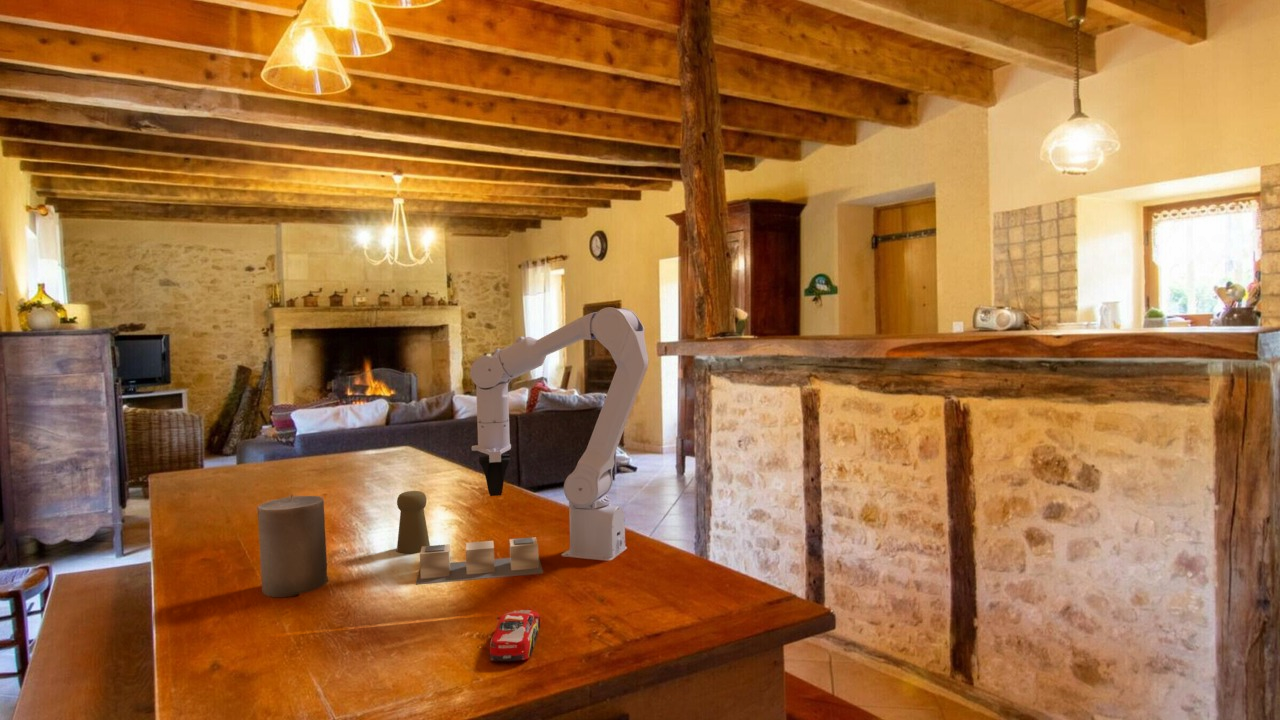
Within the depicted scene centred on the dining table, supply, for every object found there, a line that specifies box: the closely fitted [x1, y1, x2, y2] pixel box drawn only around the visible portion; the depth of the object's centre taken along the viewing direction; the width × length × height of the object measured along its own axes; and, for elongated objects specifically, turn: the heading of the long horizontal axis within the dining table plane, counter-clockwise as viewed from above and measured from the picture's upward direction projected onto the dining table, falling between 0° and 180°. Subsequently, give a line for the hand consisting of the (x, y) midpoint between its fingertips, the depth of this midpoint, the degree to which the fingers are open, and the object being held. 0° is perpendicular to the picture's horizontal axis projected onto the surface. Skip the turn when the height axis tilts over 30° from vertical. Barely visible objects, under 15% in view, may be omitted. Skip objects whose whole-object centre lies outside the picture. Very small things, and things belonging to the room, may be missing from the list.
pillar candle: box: [257, 493, 329, 598], centre depth 120 cm, size 10×10×15 cm
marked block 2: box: [509, 536, 539, 570], centre depth 128 cm, size 4×4×4 cm
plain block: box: [465, 540, 495, 574], centre depth 126 cm, size 4×4×4 cm
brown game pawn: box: [396, 490, 431, 555], centre depth 139 cm, size 6×6×11 cm
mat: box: [415, 554, 544, 586], centre depth 126 cm, size 20×10×1 cm, turn 102°
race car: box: [489, 609, 541, 663], centre depth 97 cm, size 13×5×4 cm, turn 179°
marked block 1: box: [419, 544, 451, 579], centre depth 125 cm, size 4×4×4 cm
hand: (495, 495), depth 139 cm, fingers closed
